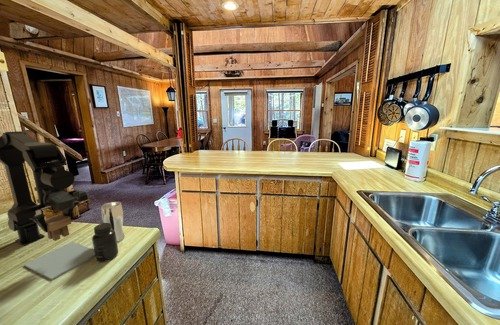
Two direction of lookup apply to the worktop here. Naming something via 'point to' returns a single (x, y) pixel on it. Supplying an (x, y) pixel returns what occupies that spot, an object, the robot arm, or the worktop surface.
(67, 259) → the rubber mat
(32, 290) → the worktop surface
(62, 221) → the walnut stool
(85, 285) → the worktop surface
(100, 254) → the supplement bottle
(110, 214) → the beer glass
